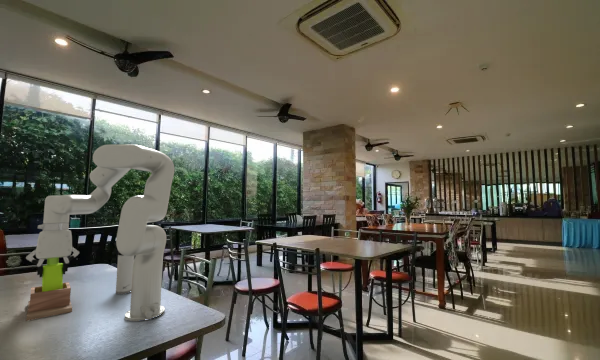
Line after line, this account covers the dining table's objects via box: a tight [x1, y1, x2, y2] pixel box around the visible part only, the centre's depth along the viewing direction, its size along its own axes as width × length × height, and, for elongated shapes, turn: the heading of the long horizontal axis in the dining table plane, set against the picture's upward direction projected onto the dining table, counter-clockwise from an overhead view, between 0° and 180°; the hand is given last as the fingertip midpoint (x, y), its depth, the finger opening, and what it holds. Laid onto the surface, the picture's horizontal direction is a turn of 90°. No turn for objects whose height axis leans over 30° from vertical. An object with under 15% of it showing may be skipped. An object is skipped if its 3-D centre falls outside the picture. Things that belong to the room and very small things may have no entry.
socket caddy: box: [25, 281, 73, 322], centre depth 105 cm, size 20×12×8 cm, turn 43°
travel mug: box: [115, 250, 135, 295], centre depth 125 cm, size 6×7×20 cm
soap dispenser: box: [41, 257, 64, 292], centre depth 106 cm, size 6×7×20 cm
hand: (52, 274), depth 106 cm, fingers closed on soap dispenser, 5 cm apart
